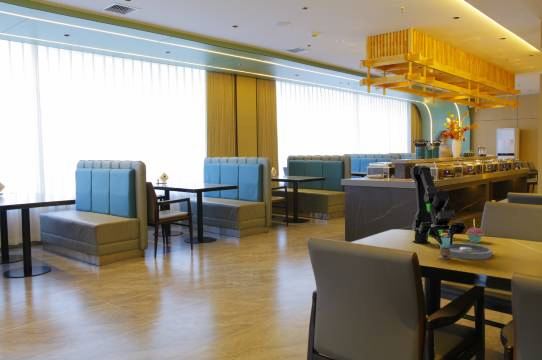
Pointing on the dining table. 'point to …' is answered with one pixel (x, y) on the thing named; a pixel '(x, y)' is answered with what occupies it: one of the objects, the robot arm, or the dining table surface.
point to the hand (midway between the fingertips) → (446, 244)
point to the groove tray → (469, 251)
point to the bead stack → (445, 248)
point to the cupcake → (475, 234)
